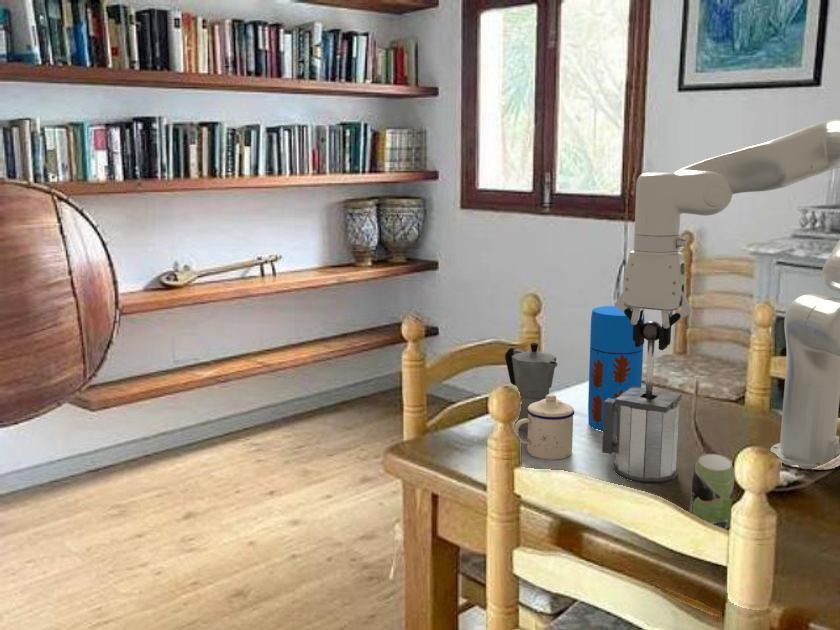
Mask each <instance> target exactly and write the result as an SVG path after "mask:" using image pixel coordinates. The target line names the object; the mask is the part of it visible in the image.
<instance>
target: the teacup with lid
mask: <svg viewBox="0 0 840 630" xmlns="http://www.w3.org/2000/svg"><path fill="white" fill-rule="evenodd" d="M527 412H528V418H526V419H521V420H519V421H518V422H517V423H516V424H515V426H513V431H514V430H515V431H516V433H517V434H518V435H519V437H520V439H521V442H520V443H521V444H524V445H525V444H526V445H527V451H528V454H529V455H530V456H532V457H534V458H536V459H541V460H550V461H551V460H553V461H554V460H562V459H565V458H568V457H570V456H571V455H572V454H573V437H574V436H573V431H574V425H573V424H574V415H575V410H574V408H573V406H572V405H571V404H569V403H566V402H564V401H562V400H560V399H557V395H555V394H553V393H549V394H548V395H546V399H543V400H541V401H538V402H534V403H532V404H530V405H529V406H528V409H527ZM524 423H528V431H527V438H526V439H525V438H522V437H521V436H520V434H519V430H520V429H519V427H520V426H521V425H522V424H524Z"/></svg>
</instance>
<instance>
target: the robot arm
mask: <svg viewBox="0 0 840 630" xmlns="http://www.w3.org/2000/svg"><path fill="white" fill-rule="evenodd" d="M835 169H840V118H834V119H827V120H824V121H823V120H822V121H821V122H818V123H815V124H813V125H809V126H806V127H804V128H801V129H799V130H796V131H793V132H791V133H787V134H785V135H782V136H780V137H777V138H774V139H771V140H769V141H765V142H762V143H759V144H755V145H751V146H747V147H744V148H742V149H738V150H736V151H732V152H728V153H725V154H721V155H718V156H714V157H711V158H708V159H704V160H702V161H699V162H696V163H694V164H690V165H688V166H685V167H682V168H680V169H678V170H676V171H674V172H645V173H641V174H640V175H639V176H638V177H637V179H636V187H635V212H634V213H635V214H634V236H633V250H630V252H629V254H628V259H627V264H626V268H625V273H624V274H625V275H624V280H623V289H622V292H621V294H620V295H619V297H618V299H617V300H616V301H615V302H614V306H615V307H617V308H618V309H619V310H621V311H622V312H624V313H625V315H626V316H627V317H628V318H629V319H630V321H631V323H632V324H633V341H635V347H640V346H641V345H643V346H644V344H645V338H644V337H643V335H642V332H641V330H642V327H643V325H644V324H645V321H644V322H643V320H642V319H643V314H644V315H645V310H652V311H655V310H656V311H660V312H661V313H660V314H661V321H662V323H661V328H660V329H659V339H658V350H659V351H664V350H665V349H667V348H668V346H669V345H670V344H671V340H672V339H671V338H672V326H673V325H674V324H675V323H677V322H678V321H680V320H681V319H683V318H685V317H687V316H689V315H691V314H692V313H693V311H694V309H693V308H692V306H691V304H690V302H689V300H688V299H687V287H686V286H687V282H686V280H687V276H686V264H685V256H684V253H683V252H679V250H680V249H682V248H687V246H688V239H683V238H681V234H680V226H681V224H680V223H681V215H682V214H688V215H695V216H696V215H698V216H702V217H703V216H704V217H705V216H712V215H713V216H715V215H717V214H718V213H722V211H724V210H725V209H726V208H727V207H728V206H729V204H730V203H731V201H732V198H733V195H735V194H741V193H742V194H743V193H751V192H752V193H755V192H756V193H757V192H768V191H772V190H778V189H783V188H787V187H789V186H791V185H793V184H796V183H799V182H802V181H804V180H807V179H810V178H812V177H814V176H818V175H820V174H824V173H825V172H829V171H832V170H835ZM821 279H822V282H823V283H824V285H825V287H827V288H828V289H830V290H831V291H834V292H836V293H837V294H840V239H839V240H838V241H837V243H836V244H835V246H834V248H833V250H832V251H831V253H830V254H829V256H828V258H827V259H826V261H825V263H824V265H823V267H822V270H821ZM631 307H633V308H631ZM679 308H681V309H680V310H679V311H677V312H675V313H674V311H676V310H678V309H679ZM783 323H784V324H783V325H784V335H785V336H784V337H785V345H786V363H785V365H786V366H785V379H784V389H783V390H784V391H783V399H782V412H781V415H782V416H781V426H780V437H779V438H780V440H779V443H775V444H773V445H772V446H771V447H770V449H769V450H770V451H771V452H773V453H775V454H776V455H777V456H778V457H779V458H780V459H781V460H782V462H783V463H784V464H783V465H785V466H788V465H798V466H799V467H800V468H801V470H807V469H812V468H815V467H817V466H820V465H823V464H825V463H827V462H829V461H831V460H832V459H834V458H836V457H837V456H839V455H840V436H839V435H837V431H838V420H839V408H840V298H837V297H833V296H828V295H824V294H820V293H819V294H818V293H807V294H803V295H800V296H798V297H797V298H795V299H794V300H793V301H792V302H791V303H790V304H789V305H788V307H787V309H786V311H785V315H784V321H783ZM800 468H799V469H800Z"/></svg>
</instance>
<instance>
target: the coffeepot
mask: <svg viewBox="0 0 840 630" xmlns="http://www.w3.org/2000/svg"><path fill="white" fill-rule="evenodd" d="M538 348H539V344H538V343H536V342H532V343H530V351H529V350H528V351H524V350H523V349H519V348H514V347H509V348H508V349H507V351H506V352H505V354H504V358H505V364H506V368H507V373H508V377H509V382H510V384H512V385H513V386H515V387H516V388H517V392H518V391H519V392H520V396H521V399H522V404H521V411H520V415H519V418H518V420H517V421H516V422H515V424H516V423H517V422H518V421H519V420H521V419H526V418H528V412H527V409H528V406H529V405H530V404H532V403H534V402H538V401H541V400H543V399H546V395H548V394H550V389H551V388H552V386H553V381H554V376H555V369H556V368H557V366H558V362H557V356H555V355H553V354H551V353H549V352H544V351H538ZM519 430H522V431H523V430H524V431H527V432H528V423H524V424H522V425H521V426H520V427H519Z"/></svg>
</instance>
